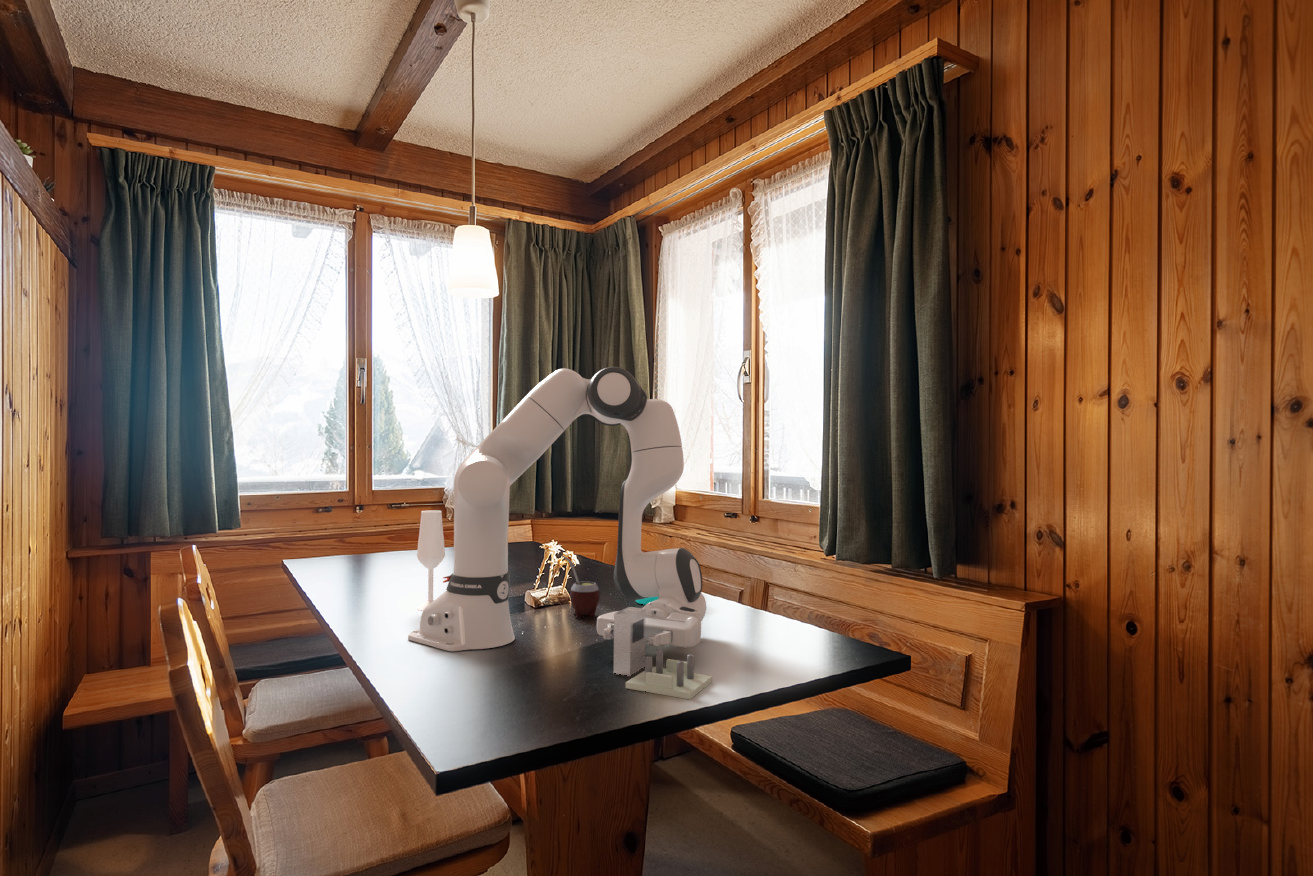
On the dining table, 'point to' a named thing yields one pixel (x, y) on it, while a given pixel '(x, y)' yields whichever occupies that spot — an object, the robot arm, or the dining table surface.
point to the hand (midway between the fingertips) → (628, 638)
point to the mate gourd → (584, 596)
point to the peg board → (670, 678)
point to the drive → (629, 640)
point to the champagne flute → (430, 547)
